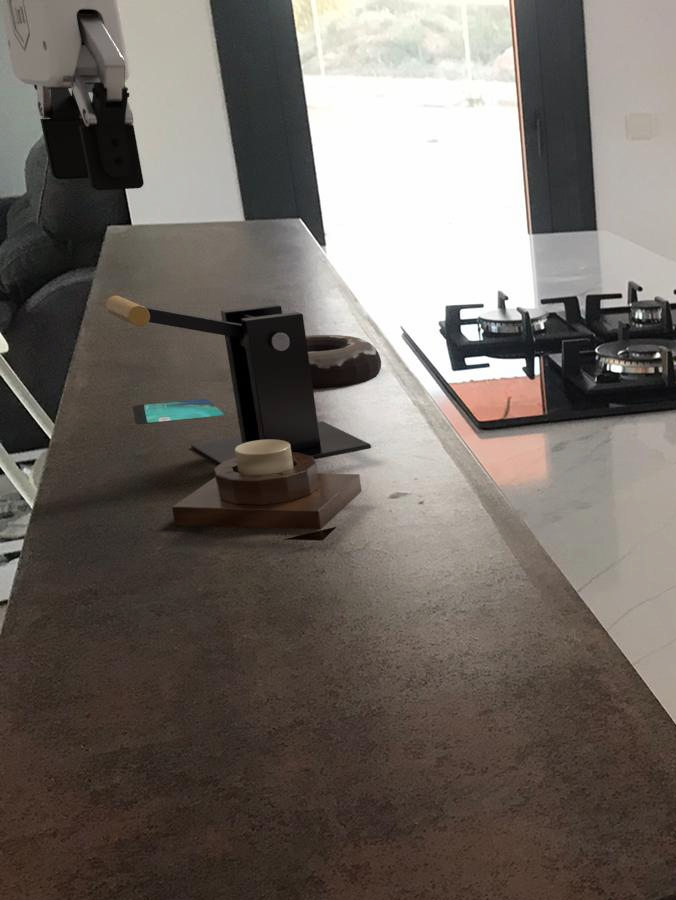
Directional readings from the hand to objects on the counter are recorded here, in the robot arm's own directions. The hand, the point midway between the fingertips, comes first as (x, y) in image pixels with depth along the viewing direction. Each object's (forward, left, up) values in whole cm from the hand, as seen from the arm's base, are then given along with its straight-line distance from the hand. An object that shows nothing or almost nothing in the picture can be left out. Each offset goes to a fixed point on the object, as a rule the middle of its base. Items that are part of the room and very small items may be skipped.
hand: (97, 181), depth 89 cm
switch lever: (+4, +4, -12) cm, 13 cm away
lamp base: (+12, -7, -22) cm, 26 cm away
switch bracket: (+7, +7, -22) cm, 24 cm away
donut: (+1, +31, -22) cm, 38 cm away
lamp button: (+12, -7, -18) cm, 23 cm away
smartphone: (-3, +19, -22) cm, 29 cm away
